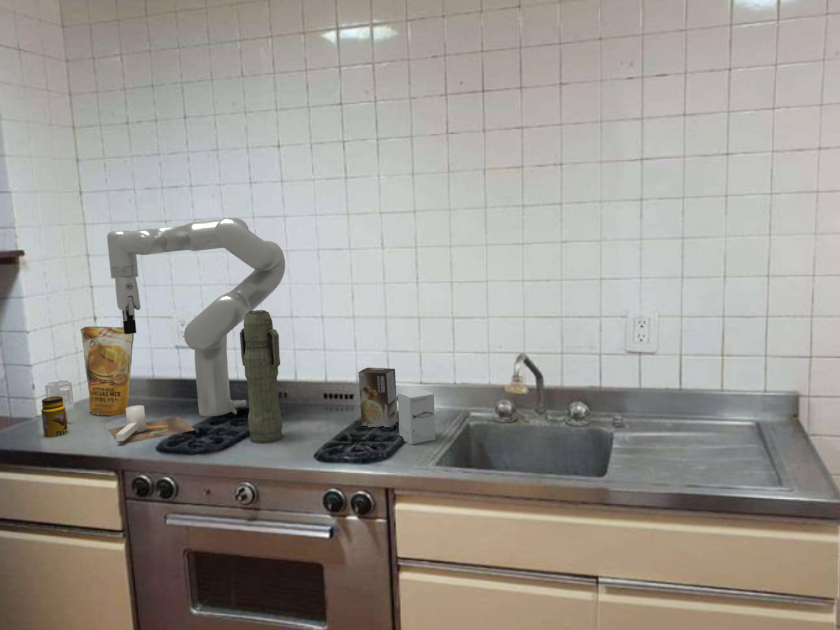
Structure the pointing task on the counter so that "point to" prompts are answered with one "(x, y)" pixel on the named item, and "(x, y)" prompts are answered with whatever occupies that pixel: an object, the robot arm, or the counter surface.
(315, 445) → the counter surface
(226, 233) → the robot arm
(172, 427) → the brown square board
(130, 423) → the white handled piece
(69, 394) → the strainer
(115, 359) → the pancake mix bag
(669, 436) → the counter surface
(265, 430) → the thermos
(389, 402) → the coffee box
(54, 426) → the condiment
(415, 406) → the supplement box
